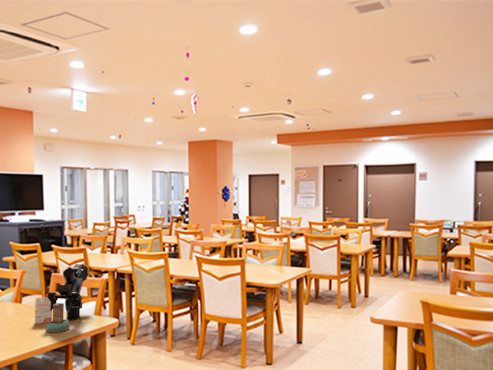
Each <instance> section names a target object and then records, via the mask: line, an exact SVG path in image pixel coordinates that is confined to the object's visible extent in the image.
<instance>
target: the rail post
mask: <svg viewBox="0 0 493 370" xmlns="http://www.w3.org/2000/svg"><path fill="white" fill-rule="evenodd" d="M64 308H65V302H64V303H58V302H57V303H56V304H54V305H53V309H52V321H53V323H62V322H63V320H64V313H65V311H64Z"/></svg>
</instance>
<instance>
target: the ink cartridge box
mask: <svg viewBox="0 0 493 370" xmlns="http://www.w3.org/2000/svg"><path fill="white" fill-rule="evenodd" d="M50 306H51V301H50V300H49V299H48V297H47V296H46V297H36V298H35V304H34V308H35V309H34V323H35V324H45V323H46V324H47V323H48V322H51V321H53V310H52V311H51V310H50Z"/></svg>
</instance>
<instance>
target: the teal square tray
mask: <svg viewBox="0 0 493 370" xmlns="http://www.w3.org/2000/svg"><path fill="white" fill-rule="evenodd" d="M69 321H70V320H68V319H63V322H62V323H53V320H52V321H51V322H49V323H46V328H45V332H46V333H48V334H57V333H58V332H60V333H64V332H67V331H69V330H70V325H69ZM68 329H69V330H68Z"/></svg>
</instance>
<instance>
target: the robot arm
mask: <svg viewBox="0 0 493 370" xmlns="http://www.w3.org/2000/svg"><path fill="white" fill-rule="evenodd" d="M62 275H63V279H64V282H65V283H64V284H57V287H56V291H58V294H57V293H56V292H52V291H50V292H47V294H46V298H47V297H48V299H49V300H50V301H51V306H50V310H51V311H52V312H53V305H54V304H56V303H58V300H59V299H61V300H64V299H65V300H64V301H65V302H64V308H65V311H66V320H68V319H69V321H73V320H72V319H75V320H78V319H77V318H80V319H81V316H80V314H81V313H80V311H81V309H83V302H82V300H83V297H82V296H81V290H82V288H83V284H84V282H85V281H86V280H87V279H88V277H89V275H90V271H89V268H88V267H87V266H86V265H85V263H83V262H79V263H75V265H74V266H73V267H71V266H68V267H67V268H66V269H64V270H63V271H62Z"/></svg>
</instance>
